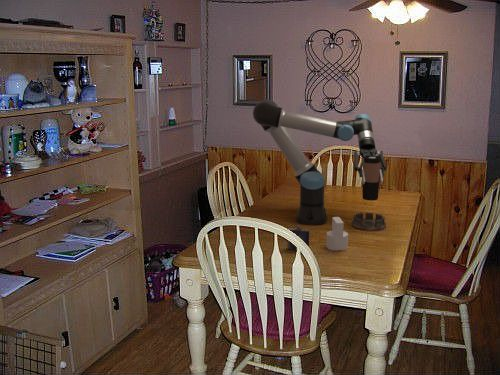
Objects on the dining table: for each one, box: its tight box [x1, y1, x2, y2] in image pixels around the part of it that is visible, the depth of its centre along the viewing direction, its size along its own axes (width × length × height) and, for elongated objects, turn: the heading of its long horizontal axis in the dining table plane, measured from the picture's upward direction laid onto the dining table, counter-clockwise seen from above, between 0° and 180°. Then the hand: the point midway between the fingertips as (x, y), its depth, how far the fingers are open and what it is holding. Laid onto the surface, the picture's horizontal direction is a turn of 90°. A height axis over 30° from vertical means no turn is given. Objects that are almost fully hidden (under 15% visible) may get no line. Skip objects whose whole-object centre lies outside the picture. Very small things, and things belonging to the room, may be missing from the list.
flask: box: [286, 224, 310, 251], centre depth 229 cm, size 9×3×11 cm, turn 72°
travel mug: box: [362, 155, 381, 201], centre depth 257 cm, size 8×8×20 cm
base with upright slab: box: [325, 216, 349, 251], centre depth 232 cm, size 9×9×12 cm
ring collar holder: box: [351, 212, 387, 232], centre depth 262 cm, size 16×16×4 cm
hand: (372, 182), depth 254 cm, fingers closed on travel mug, 7 cm apart
